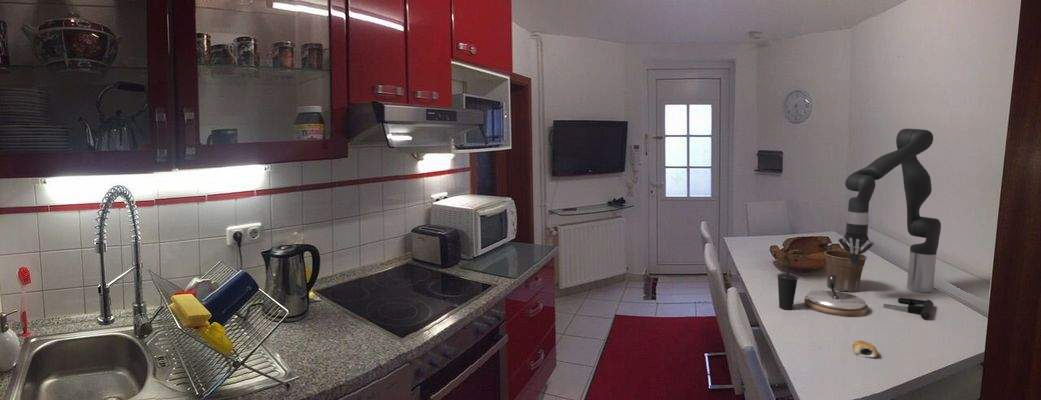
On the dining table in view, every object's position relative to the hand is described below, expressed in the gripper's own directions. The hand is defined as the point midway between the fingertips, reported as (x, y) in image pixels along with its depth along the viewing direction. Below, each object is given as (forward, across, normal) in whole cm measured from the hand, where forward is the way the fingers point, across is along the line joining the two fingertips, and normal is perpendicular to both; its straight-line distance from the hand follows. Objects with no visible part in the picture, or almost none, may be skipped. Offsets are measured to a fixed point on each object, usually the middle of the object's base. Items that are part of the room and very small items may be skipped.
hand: (854, 262), depth 204 cm
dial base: (+16, -1, -15) cm, 22 cm away
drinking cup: (+16, -13, -32) cm, 38 cm away
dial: (+14, -2, -12) cm, 19 cm away
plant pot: (+17, -9, +14) cm, 24 cm away
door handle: (+17, +18, +5) cm, 26 cm away
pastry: (+16, +22, -53) cm, 60 cm away
